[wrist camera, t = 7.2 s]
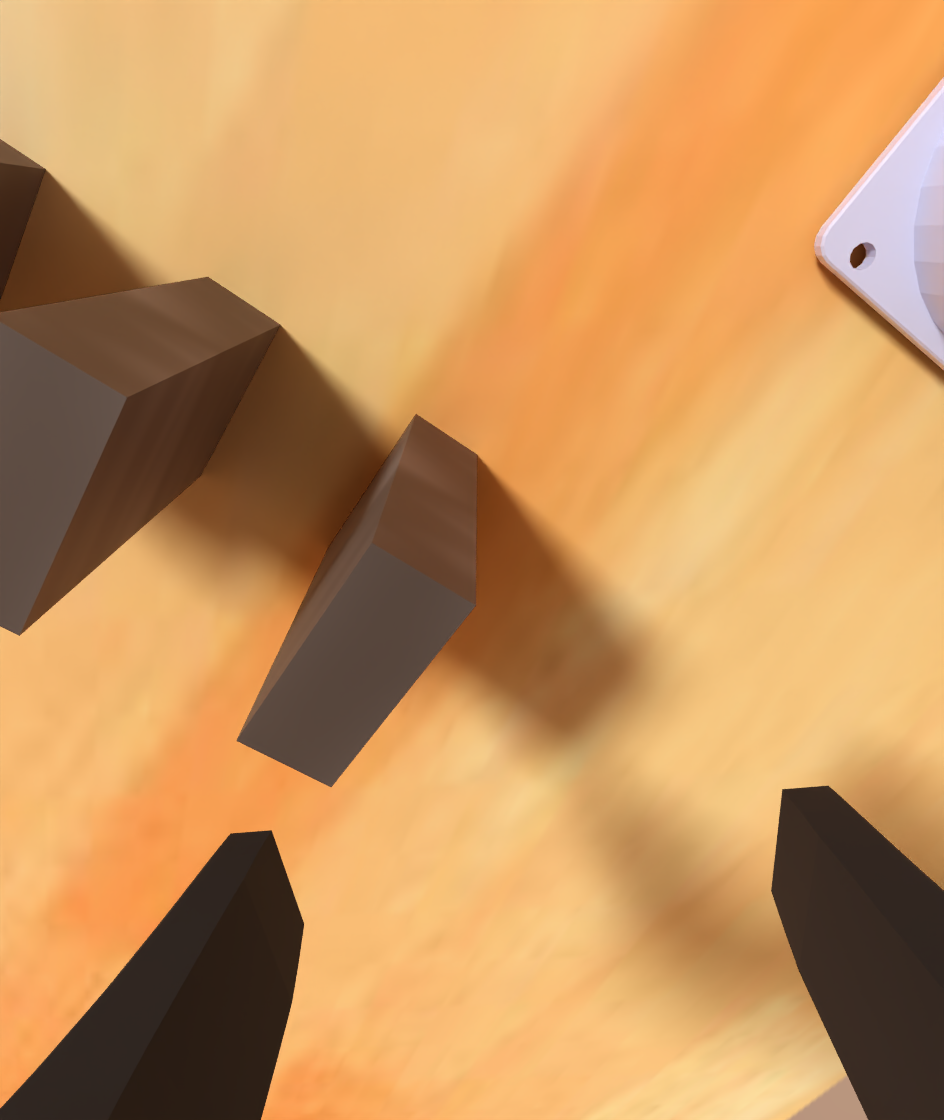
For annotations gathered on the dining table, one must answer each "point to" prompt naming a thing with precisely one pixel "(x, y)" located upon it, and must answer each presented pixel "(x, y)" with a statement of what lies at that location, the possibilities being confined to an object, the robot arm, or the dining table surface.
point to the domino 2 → (374, 608)
